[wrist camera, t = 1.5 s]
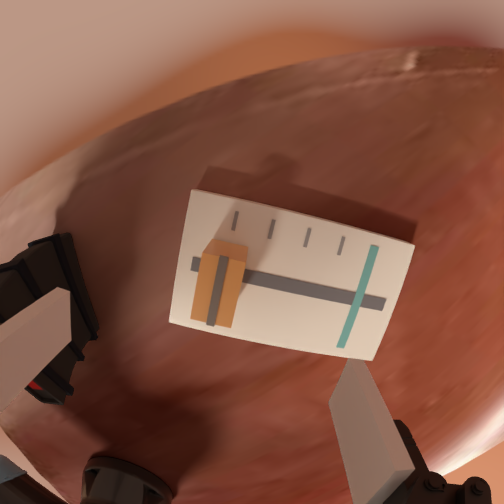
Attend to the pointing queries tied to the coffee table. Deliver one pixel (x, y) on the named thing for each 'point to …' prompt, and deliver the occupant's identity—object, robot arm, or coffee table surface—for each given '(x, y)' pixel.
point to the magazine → (38, 285)
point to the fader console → (295, 276)
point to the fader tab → (219, 283)
